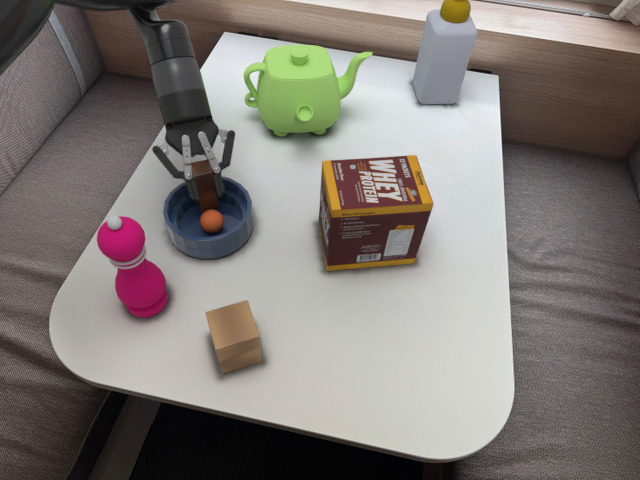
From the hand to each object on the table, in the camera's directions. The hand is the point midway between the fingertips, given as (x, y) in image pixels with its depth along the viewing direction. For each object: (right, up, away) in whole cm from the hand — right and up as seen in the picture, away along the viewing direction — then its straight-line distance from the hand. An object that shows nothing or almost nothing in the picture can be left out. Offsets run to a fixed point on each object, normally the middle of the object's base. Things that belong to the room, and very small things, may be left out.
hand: (209, 198), depth 85 cm
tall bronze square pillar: (-1, 0, +5) cm, 5 cm away
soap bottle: (+44, +26, +33) cm, 60 cm away
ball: (0, -4, +4) cm, 5 cm away
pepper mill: (-9, -16, -3) cm, 19 cm away
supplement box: (+26, -7, +6) cm, 27 cm away
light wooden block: (+6, -23, -8) cm, 25 cm away
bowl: (-1, -4, +6) cm, 8 cm away
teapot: (+15, +17, +24) cm, 33 cm away
